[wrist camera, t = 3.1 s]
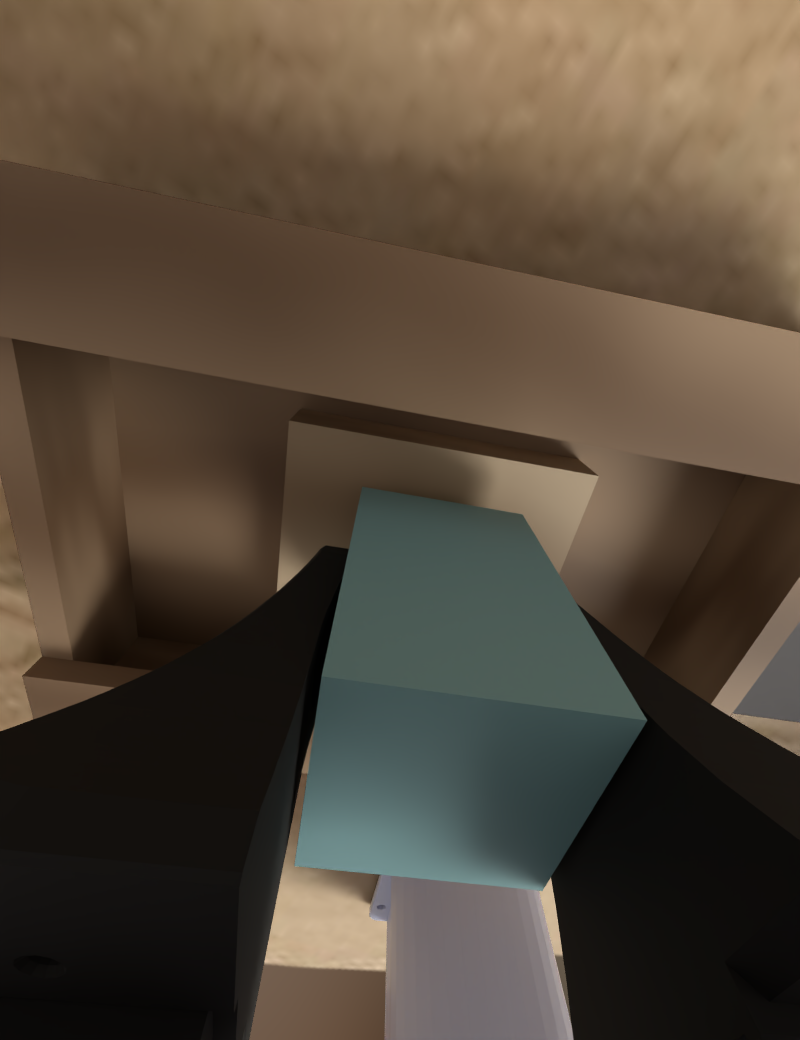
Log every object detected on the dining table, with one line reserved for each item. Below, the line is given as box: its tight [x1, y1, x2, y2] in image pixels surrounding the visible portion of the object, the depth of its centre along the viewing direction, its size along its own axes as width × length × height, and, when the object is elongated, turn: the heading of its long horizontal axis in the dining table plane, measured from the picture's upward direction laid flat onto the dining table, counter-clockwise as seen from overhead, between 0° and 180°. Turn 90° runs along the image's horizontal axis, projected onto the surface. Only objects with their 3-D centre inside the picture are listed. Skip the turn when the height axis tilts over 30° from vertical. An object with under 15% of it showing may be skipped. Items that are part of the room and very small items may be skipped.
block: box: [295, 487, 647, 891], centre depth 9 cm, size 4×4×6 cm
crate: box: [0, 160, 800, 774], centre depth 12 cm, size 14×20×4 cm
